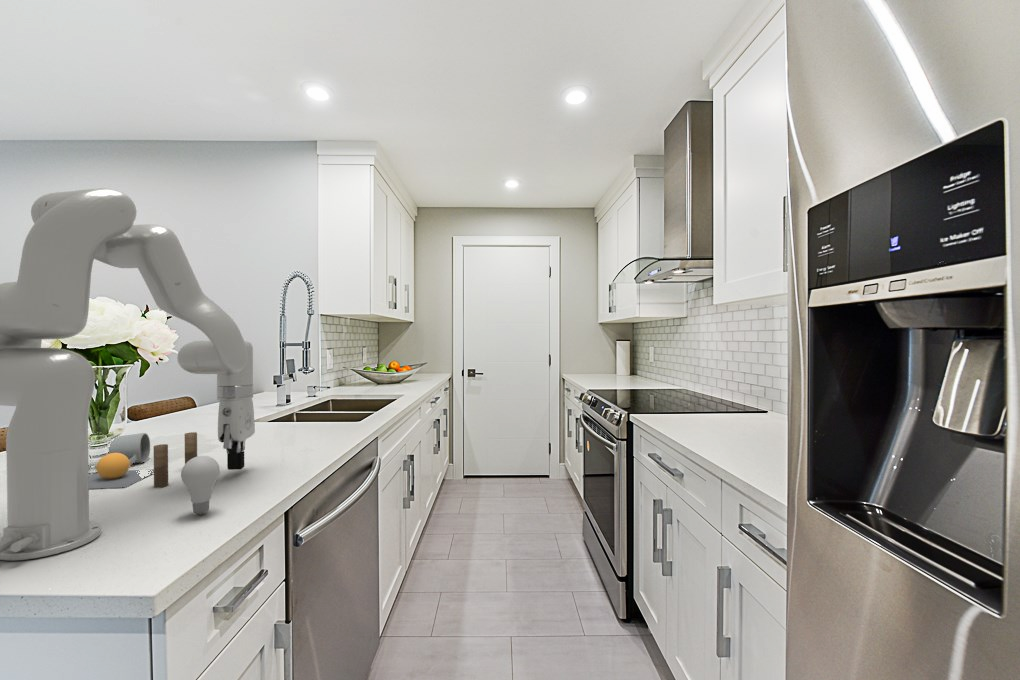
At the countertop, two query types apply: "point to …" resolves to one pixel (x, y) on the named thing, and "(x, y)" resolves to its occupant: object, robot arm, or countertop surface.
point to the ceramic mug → (132, 447)
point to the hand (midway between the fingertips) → (236, 468)
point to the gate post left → (160, 465)
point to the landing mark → (115, 480)
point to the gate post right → (190, 446)
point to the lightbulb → (200, 481)
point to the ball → (113, 465)
